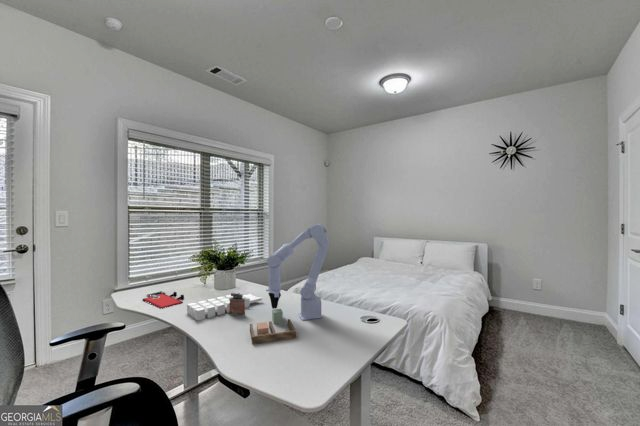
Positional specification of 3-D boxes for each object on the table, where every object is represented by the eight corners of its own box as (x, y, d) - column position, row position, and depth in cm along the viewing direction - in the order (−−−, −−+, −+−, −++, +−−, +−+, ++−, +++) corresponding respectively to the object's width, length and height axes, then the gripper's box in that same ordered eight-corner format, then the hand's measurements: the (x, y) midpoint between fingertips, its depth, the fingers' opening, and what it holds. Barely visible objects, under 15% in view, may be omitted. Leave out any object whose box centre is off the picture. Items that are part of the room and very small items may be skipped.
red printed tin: (246, 313, 136) (246, 293, 136) (242, 315, 133) (242, 295, 133) (231, 311, 139) (231, 291, 138) (227, 314, 135) (227, 293, 135)
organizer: (187, 304, 137) (250, 290, 161) (187, 313, 137) (250, 298, 161) (197, 310, 127) (263, 294, 152) (197, 321, 127) (263, 303, 152)
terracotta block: (266, 332, 115) (266, 322, 115) (268, 339, 109) (268, 327, 109) (256, 334, 114) (256, 323, 114) (258, 340, 108) (258, 329, 108)
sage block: (280, 319, 129) (280, 308, 129) (282, 322, 125) (282, 311, 125) (272, 320, 128) (272, 309, 128) (273, 323, 124) (273, 312, 124)
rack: (289, 324, 123) (289, 318, 123) (296, 338, 110) (296, 330, 110) (249, 330, 117) (249, 323, 117) (252, 344, 105) (252, 336, 105)
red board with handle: (164, 292, 173) (137, 298, 161) (164, 287, 173) (137, 293, 161) (189, 302, 155) (161, 310, 143) (189, 297, 155) (160, 305, 143)
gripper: (264, 276, 140) (264, 303, 140) (268, 284, 126) (268, 314, 126) (278, 275, 142) (278, 302, 142) (283, 282, 128) (283, 312, 128)
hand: (274, 308), depth 134 cm, fingers closed
